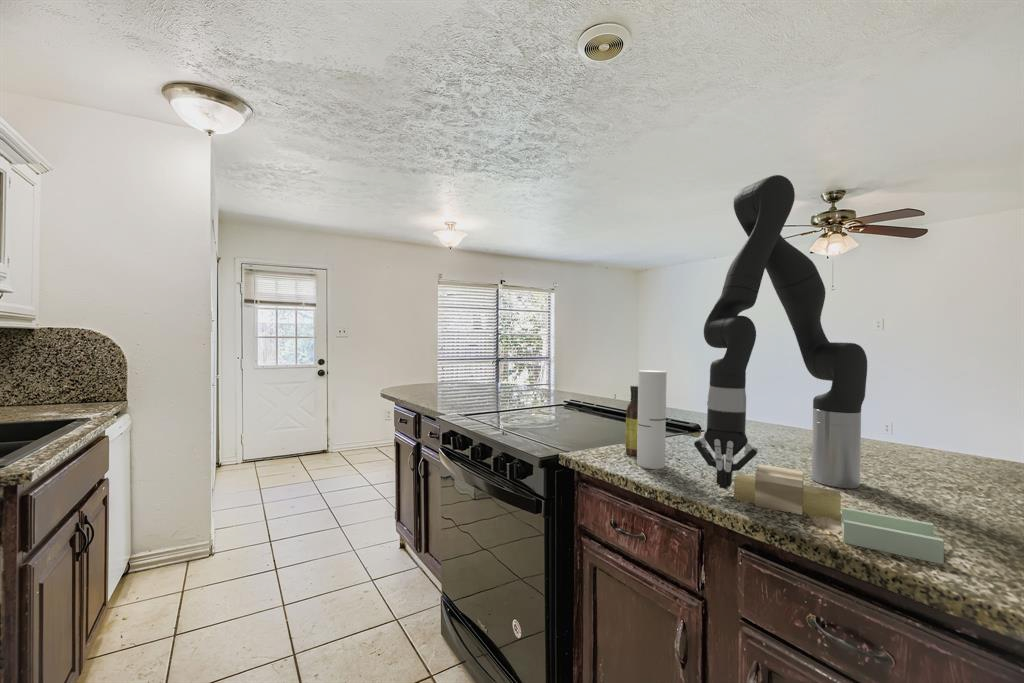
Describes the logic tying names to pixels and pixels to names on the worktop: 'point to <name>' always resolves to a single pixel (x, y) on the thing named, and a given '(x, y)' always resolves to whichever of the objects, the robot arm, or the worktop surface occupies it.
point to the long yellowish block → (812, 497)
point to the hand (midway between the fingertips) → (723, 487)
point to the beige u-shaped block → (779, 488)
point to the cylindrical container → (651, 419)
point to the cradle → (892, 535)
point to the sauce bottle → (632, 423)
